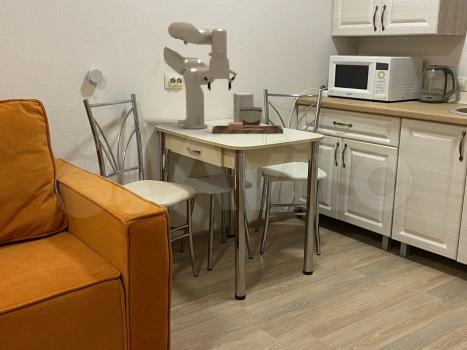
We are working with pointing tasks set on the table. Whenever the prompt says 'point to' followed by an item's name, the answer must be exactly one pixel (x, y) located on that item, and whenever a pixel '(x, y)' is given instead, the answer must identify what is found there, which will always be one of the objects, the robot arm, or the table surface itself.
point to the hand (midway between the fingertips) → (219, 90)
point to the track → (248, 130)
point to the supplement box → (241, 104)
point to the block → (235, 125)
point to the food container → (251, 116)
